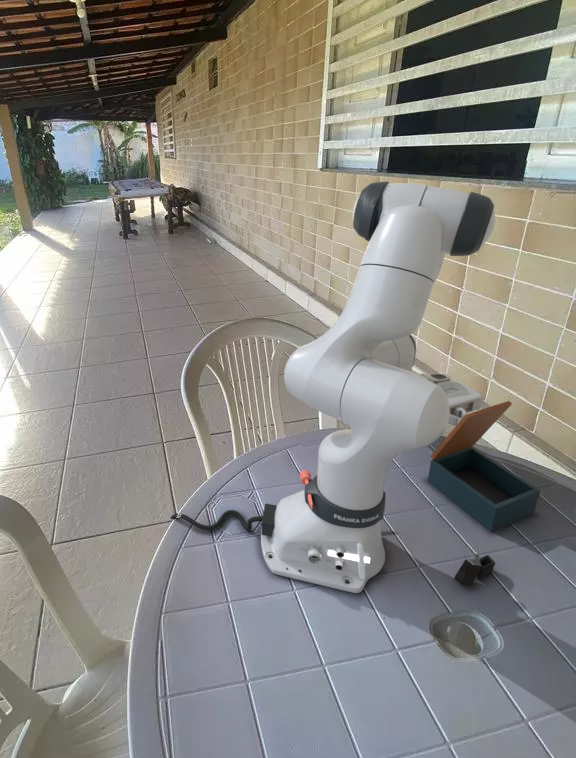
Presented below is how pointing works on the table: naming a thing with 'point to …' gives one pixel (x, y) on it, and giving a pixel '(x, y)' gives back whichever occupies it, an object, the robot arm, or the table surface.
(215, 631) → the table surface
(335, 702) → the table surface
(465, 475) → the black flat slab
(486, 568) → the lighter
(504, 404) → the cover
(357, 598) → the table surface
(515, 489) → the case
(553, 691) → the table surface
